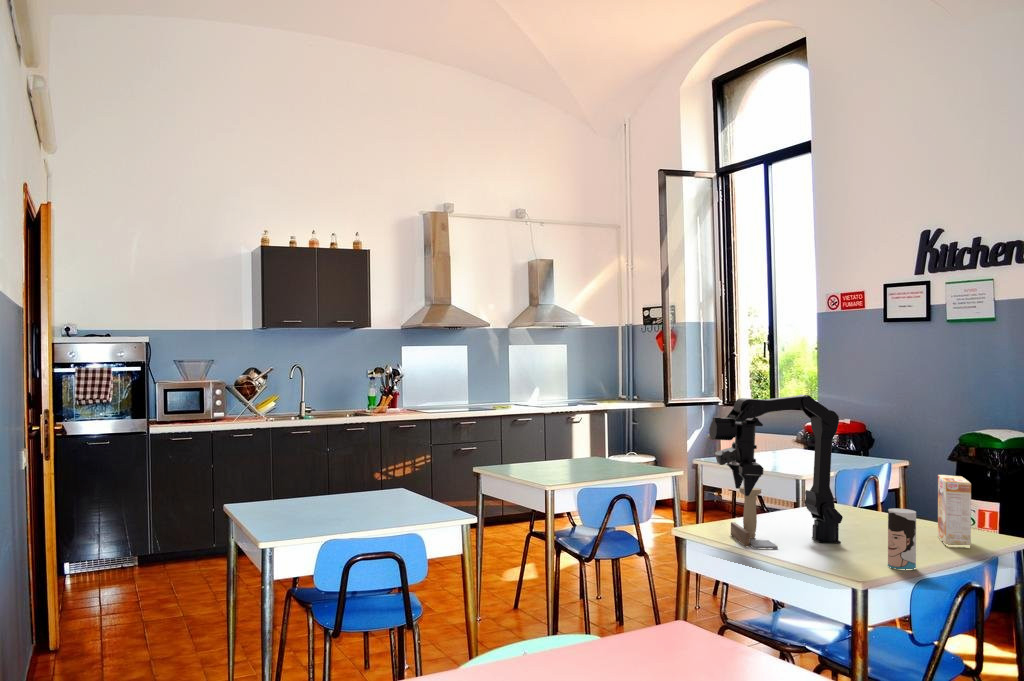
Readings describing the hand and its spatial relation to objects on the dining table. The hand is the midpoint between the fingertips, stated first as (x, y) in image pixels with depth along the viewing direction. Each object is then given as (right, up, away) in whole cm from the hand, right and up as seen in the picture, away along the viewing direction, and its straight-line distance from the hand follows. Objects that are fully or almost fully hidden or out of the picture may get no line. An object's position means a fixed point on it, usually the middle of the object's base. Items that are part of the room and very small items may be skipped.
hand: (742, 492), depth 246 cm
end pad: (+4, -15, -6) cm, 16 cm away
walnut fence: (0, -15, +1) cm, 15 cm away
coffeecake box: (+65, -16, +3) cm, 67 cm away
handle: (+4, -15, +5) cm, 16 cm away
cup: (+35, -15, -28) cm, 47 cm away
